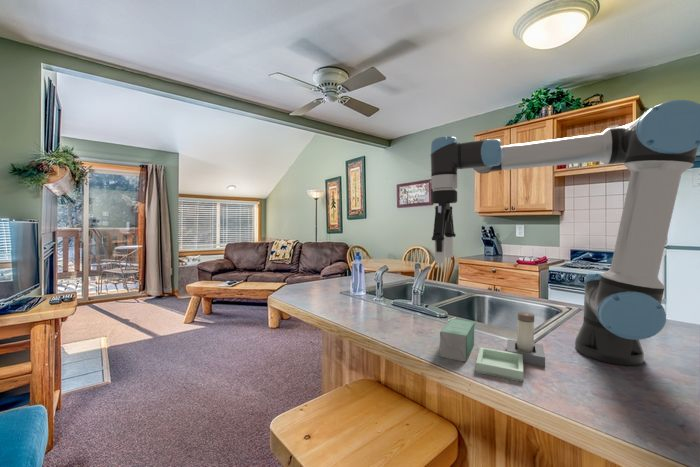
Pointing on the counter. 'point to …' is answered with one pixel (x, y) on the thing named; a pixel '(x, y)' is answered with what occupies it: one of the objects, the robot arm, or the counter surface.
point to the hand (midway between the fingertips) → (444, 260)
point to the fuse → (525, 332)
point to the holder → (528, 353)
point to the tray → (500, 364)
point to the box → (457, 339)
